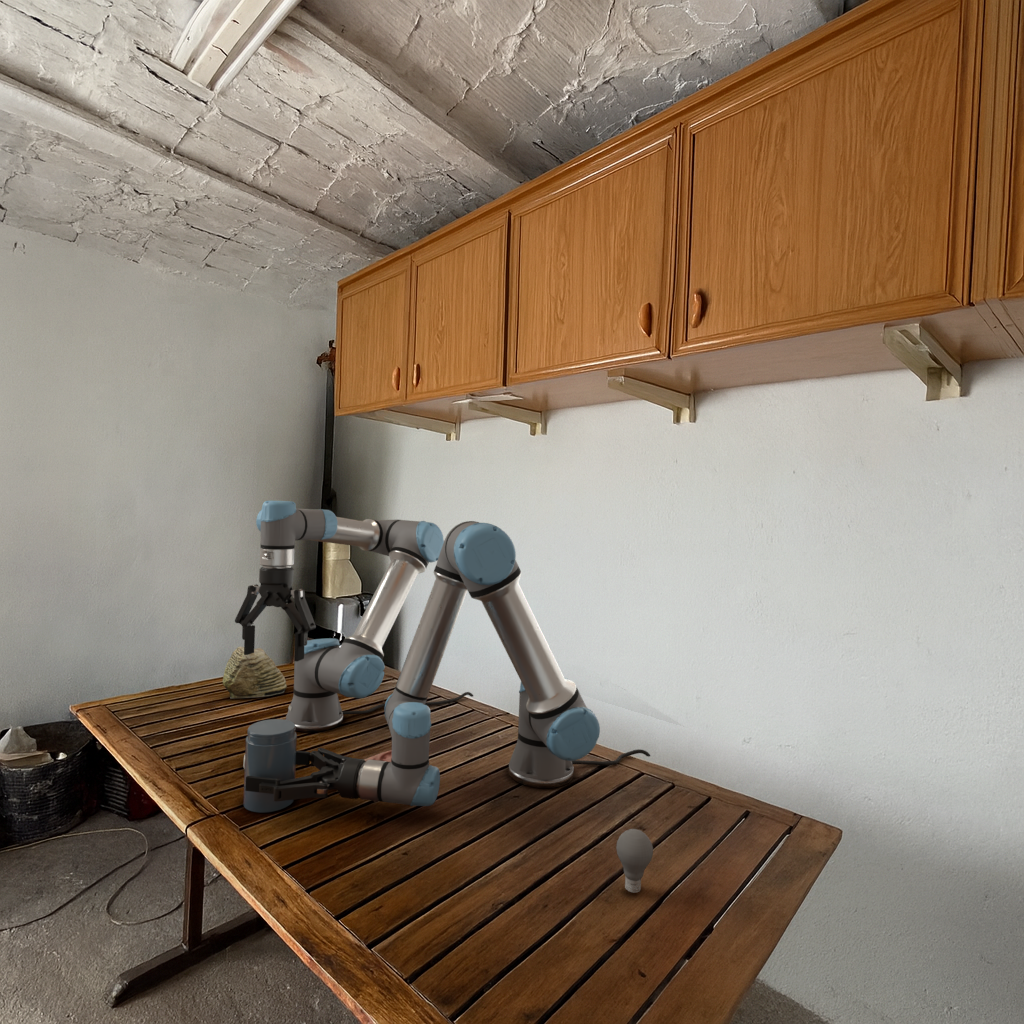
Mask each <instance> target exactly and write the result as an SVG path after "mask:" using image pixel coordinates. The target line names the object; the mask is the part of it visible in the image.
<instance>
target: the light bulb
mask: <svg viewBox="0 0 1024 1024" xmlns="http://www.w3.org/2000/svg"><path fill="white" fill-rule="evenodd" d="M615 849H616V854H617V857H618V859H619V861H620V863H621V865H622V867H623V873H624V874H623V875H624V876H625V878H624V888H625V890H627V891H628V892H630V893H634V894H635V893H639V892H640V891H641V889H642V887H641V886H642V879H643V877H644V875H645V871H646V868H647V867H648V866H649V864H650V863H651V861H652V859H653V855H654V847H653V843H652V841H651V838H649V836H648V835H647V834H646V833H645V832H643V831H642V830H641V829H636V828H629V829H627V830H625V831H623V832H622V833H621V834H620V835H619V837H618V839H617V841H616V847H615Z"/></svg>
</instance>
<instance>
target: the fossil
mask: <svg viewBox="0 0 1024 1024" xmlns="http://www.w3.org/2000/svg"><path fill="white" fill-rule="evenodd" d="M222 676H223V677H222V685H223V687H224V688H225V690H226V691H228V693H229V698H230V699H250V698H264V697H271V696H275V695H281V694H284V693H285V691H286V689H287V687H288V686H287V680H286V678H285V676H284V674H283V673H282V672H281V669H279V668H278V667H277V665H276V663H275V662H274V660H273V659H272V658H271V657H270V656H269V655H268V654H267V653H266V652H265V650H264V649H263V648H260V647H258V648H254V653H252V654H249V655H244V646H238V647H237V648H236V649H235V650H233V651H232V653H231V656H230V657H229V659H228V660H227V663H226V666H225V668H224V671H223V675H222Z"/></svg>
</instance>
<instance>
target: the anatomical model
mask: <svg viewBox="0 0 1024 1024" xmlns="http://www.w3.org/2000/svg"><path fill="white" fill-rule="evenodd" d="M391 758H392V749H390V750H387V751H382V752H380V753H377V754H375V755H372V756H370V757H367V758H363V759H364V760H365V761H367V760H378V761H387V762H391Z"/></svg>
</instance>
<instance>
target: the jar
mask: <svg viewBox="0 0 1024 1024" xmlns="http://www.w3.org/2000/svg"><path fill="white" fill-rule="evenodd" d="M295 729H296V726H295V724H294V723H293V722H292V721H289V720H286V719H283V718H272V719H265V720H260V721H257V722H254V723H252V724H251V725H249V726H248V728H247V736H246V737H245V749H244V755H245V769H244V773H243V774H244V777H243V807H244V808H245V809H246V810H247V811H249V812H253V813H261V814H262V813H263V814H264V813H272V812H277V811H280V810H283V809H286V808H287V807H289V806H290V805H292V804H293V803H294V801H295V800H286V801H274V794H269V793H260V792H251V791H245V789H246V777H247V776H257V777H266V778H275V779H277V778H279V780H280V781H285V780H290V779H295V778H296V769H297V766H296V765H297V764H296V751H297V741H298V734H297V731H295Z"/></svg>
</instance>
